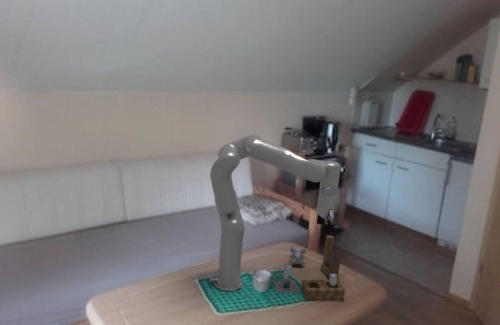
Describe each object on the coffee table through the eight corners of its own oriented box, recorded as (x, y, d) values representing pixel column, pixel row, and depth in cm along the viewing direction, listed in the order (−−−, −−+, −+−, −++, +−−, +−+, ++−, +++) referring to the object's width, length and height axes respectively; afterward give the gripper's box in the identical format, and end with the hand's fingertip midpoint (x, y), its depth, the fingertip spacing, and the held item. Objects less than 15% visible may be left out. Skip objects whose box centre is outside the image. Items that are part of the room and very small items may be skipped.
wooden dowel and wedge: (330, 281, 202) (335, 244, 197) (320, 270, 212) (324, 234, 207) (338, 280, 203) (342, 244, 199) (327, 269, 213) (331, 234, 209)
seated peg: (328, 297, 187) (331, 276, 185) (326, 293, 190) (329, 272, 188) (335, 297, 188) (338, 276, 186) (333, 293, 191) (335, 272, 188)
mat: (277, 293, 187) (277, 292, 187) (272, 281, 197) (272, 280, 197) (300, 293, 189) (300, 292, 189) (294, 281, 199) (294, 280, 199)
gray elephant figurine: (290, 269, 210) (292, 255, 208) (283, 257, 221) (284, 243, 219) (308, 269, 212) (310, 255, 210) (300, 257, 224) (302, 243, 221)
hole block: (306, 301, 183) (307, 290, 182) (300, 290, 192) (302, 279, 190) (343, 301, 185) (344, 290, 184) (336, 290, 194) (337, 279, 193)
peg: (283, 288, 191) (285, 267, 189) (282, 284, 194) (284, 263, 192) (290, 288, 192) (292, 267, 189) (288, 284, 195) (291, 263, 192)
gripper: (313, 184, 195) (309, 220, 199) (326, 196, 178) (321, 236, 182) (330, 184, 196) (325, 221, 200) (344, 197, 179) (338, 236, 183)
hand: (323, 228), depth 191 cm, fingers open, 9 cm apart
